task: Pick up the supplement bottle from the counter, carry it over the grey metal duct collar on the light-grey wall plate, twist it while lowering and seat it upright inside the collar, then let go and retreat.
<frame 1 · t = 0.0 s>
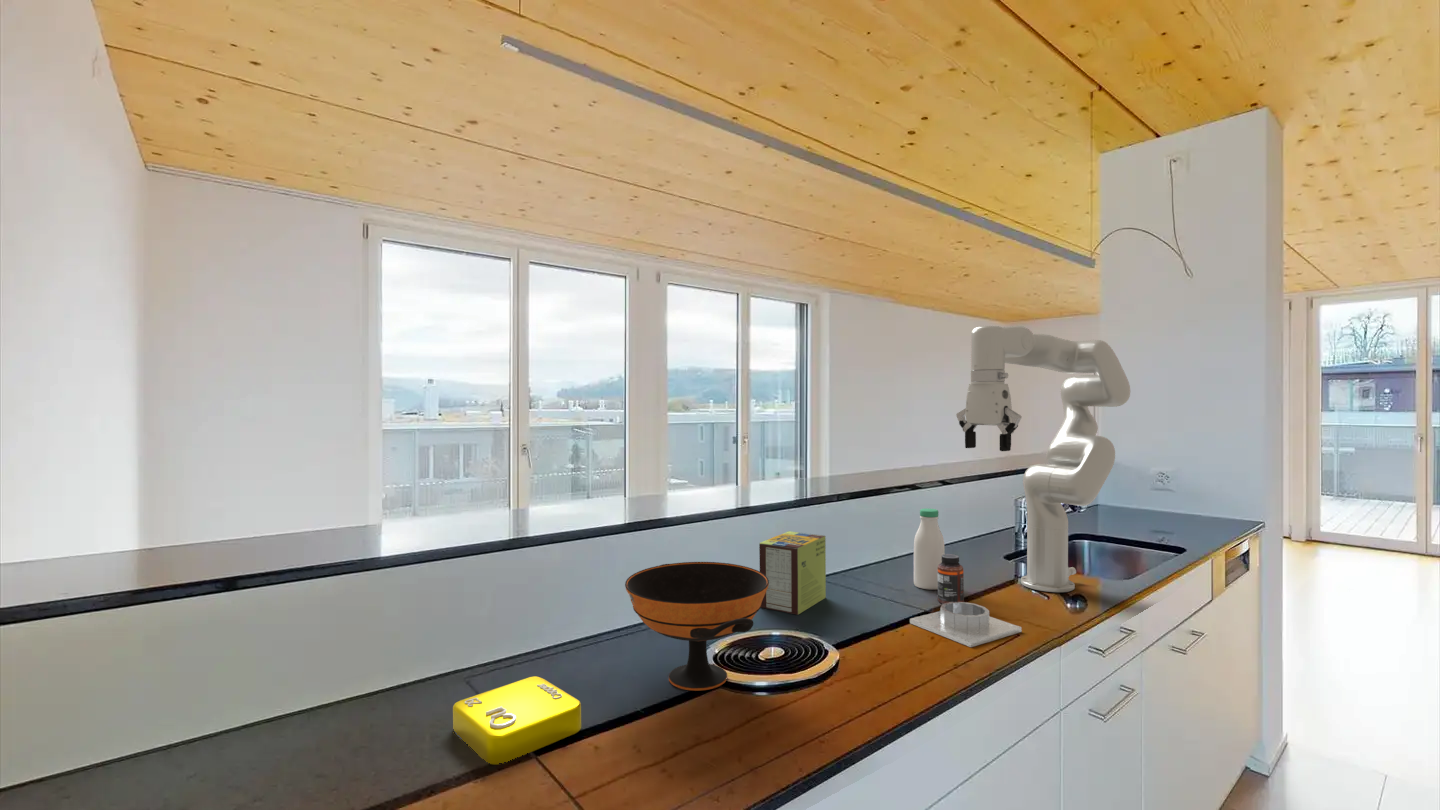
hand: (987, 449, 160), 37 cm above the worktop, tool pointing down, fingers open, 9 cm apart
milk bottle: (929, 586, 173), on the worktop
element tile: (517, 732, 101), on the worktop
duct flange: (964, 627, 143), on the worktop
protein box: (793, 603, 161), on the worktop
supplement bottle: (950, 603, 160), on the worktop
greek kylix: (698, 679, 119), on the worktop
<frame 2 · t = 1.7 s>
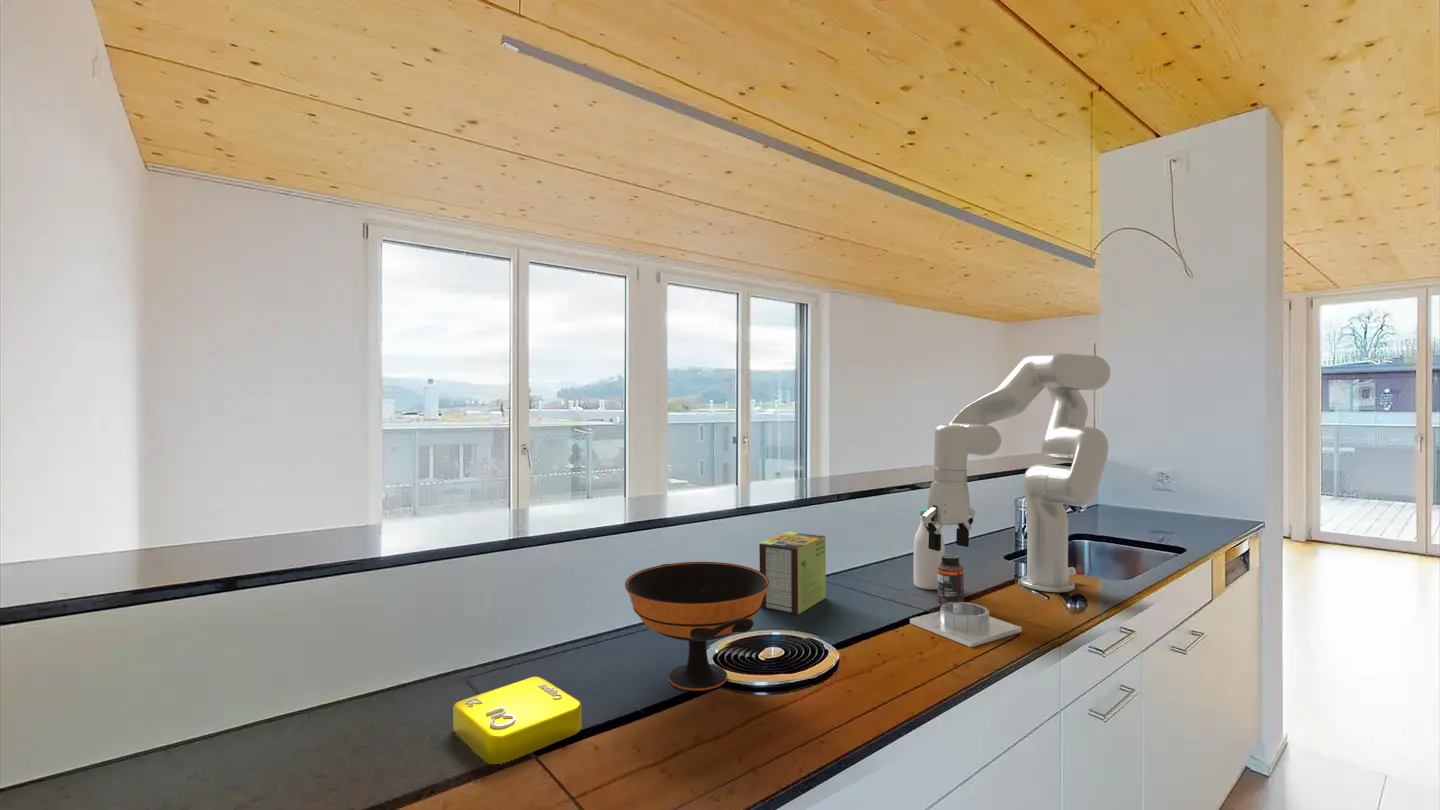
hand: (948, 547, 159), 13 cm above the worktop, tool pointing down, fingers open, 9 cm apart
nothing on the worktop moved.
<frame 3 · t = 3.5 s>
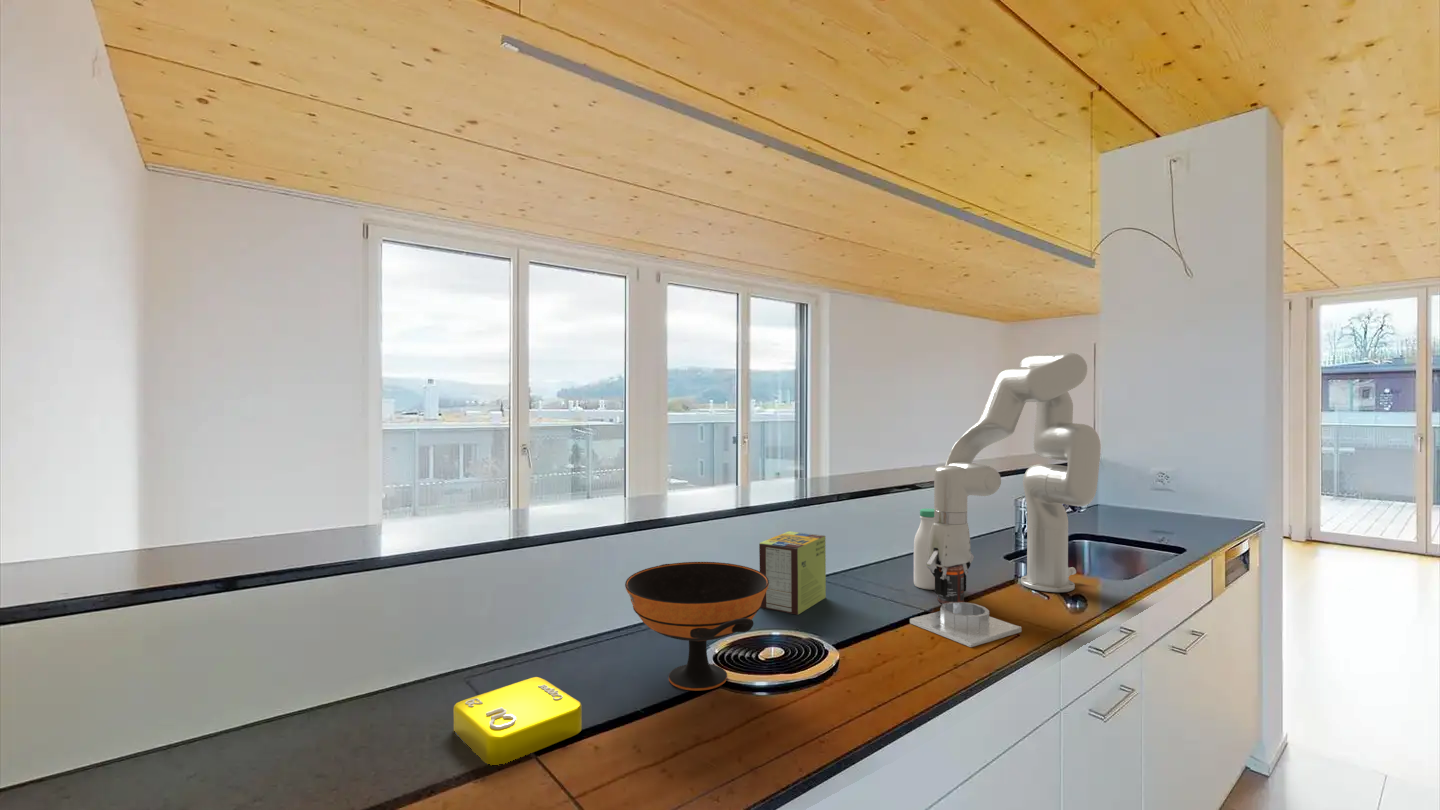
hand: (950, 591, 160), 3 cm above the worktop, tool pointing down, fingers closed on supplement bottle, 6 cm apart
supplement bottle: (950, 603, 160), on the worktop, touching gripper
everything else where it was.
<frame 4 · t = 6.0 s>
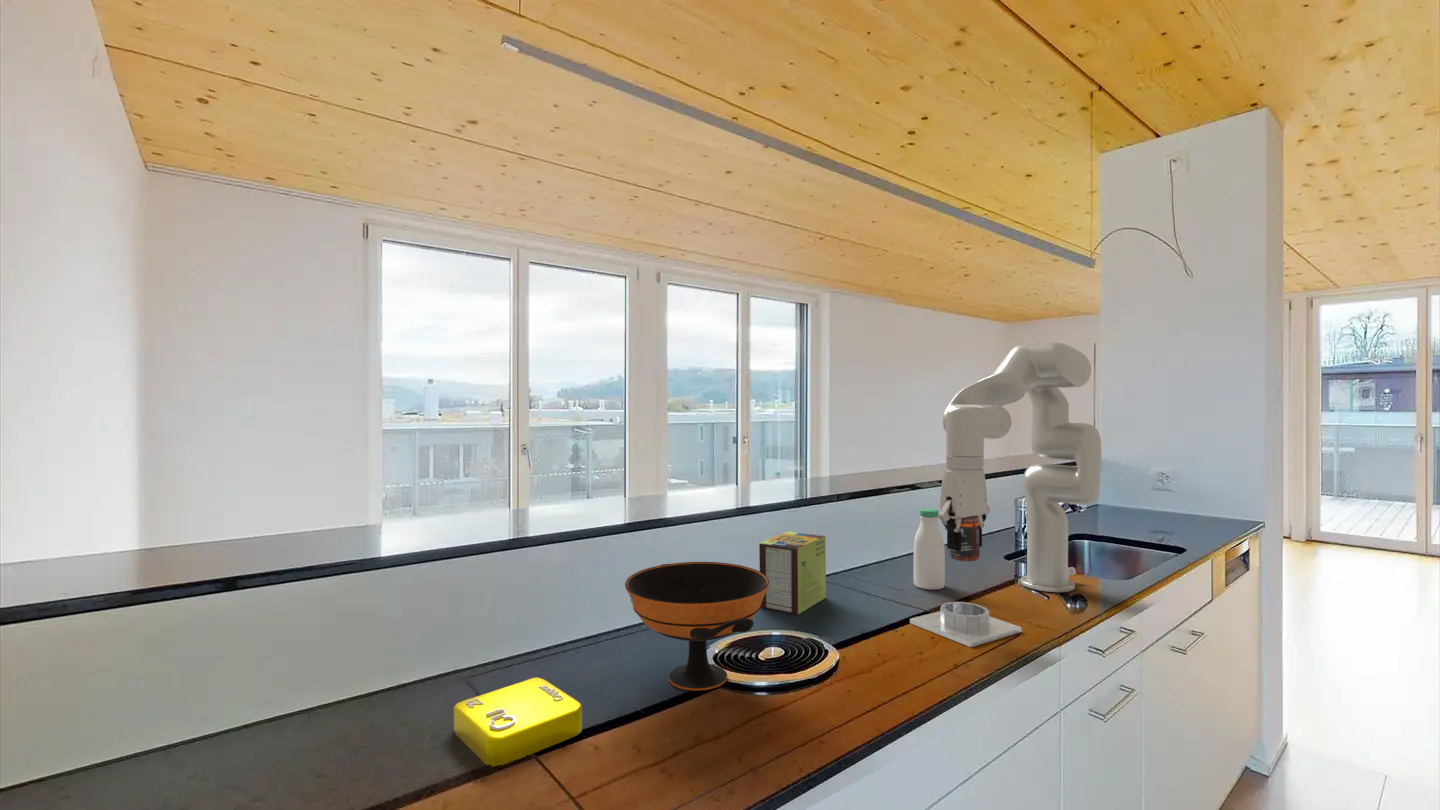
hand: (964, 546, 143), 17 cm above the worktop, tool pointing down, fingers closed on supplement bottle, 6 cm apart
supplement bottle: (964, 559, 143), point 15 cm above the worktop, touching gripper
everything else where it was.
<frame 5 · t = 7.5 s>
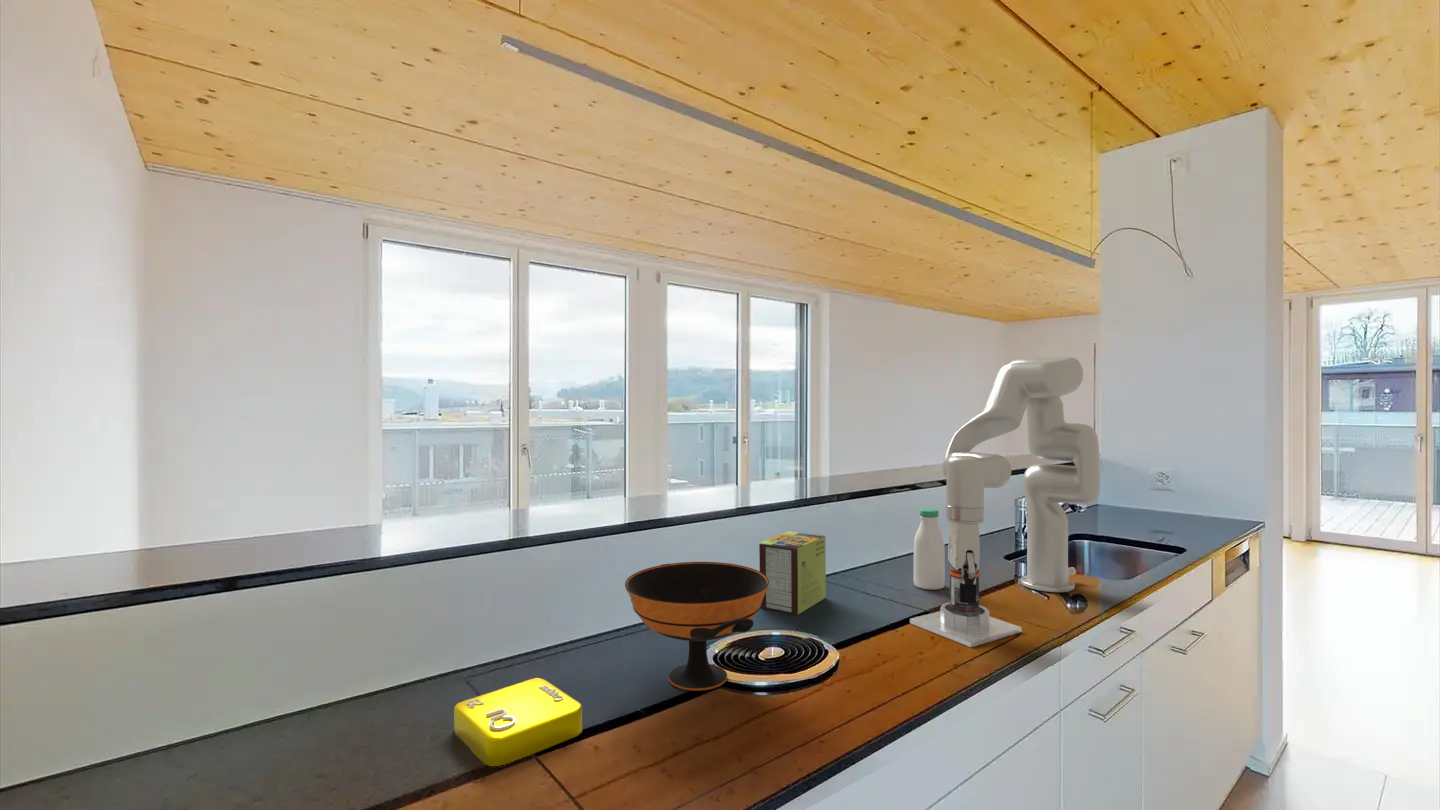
hand: (964, 596, 143), 7 cm above the worktop, tool pointing down, fingers closed on supplement bottle, 6 cm apart
supplement bottle: (964, 609, 143), point 4 cm above the worktop, touching gripper
everything else where it was.
when the fingers open (5 cm above the worktop, at t = 8.6 s): supplement bottle drops 2 cm, resting on duct flange.
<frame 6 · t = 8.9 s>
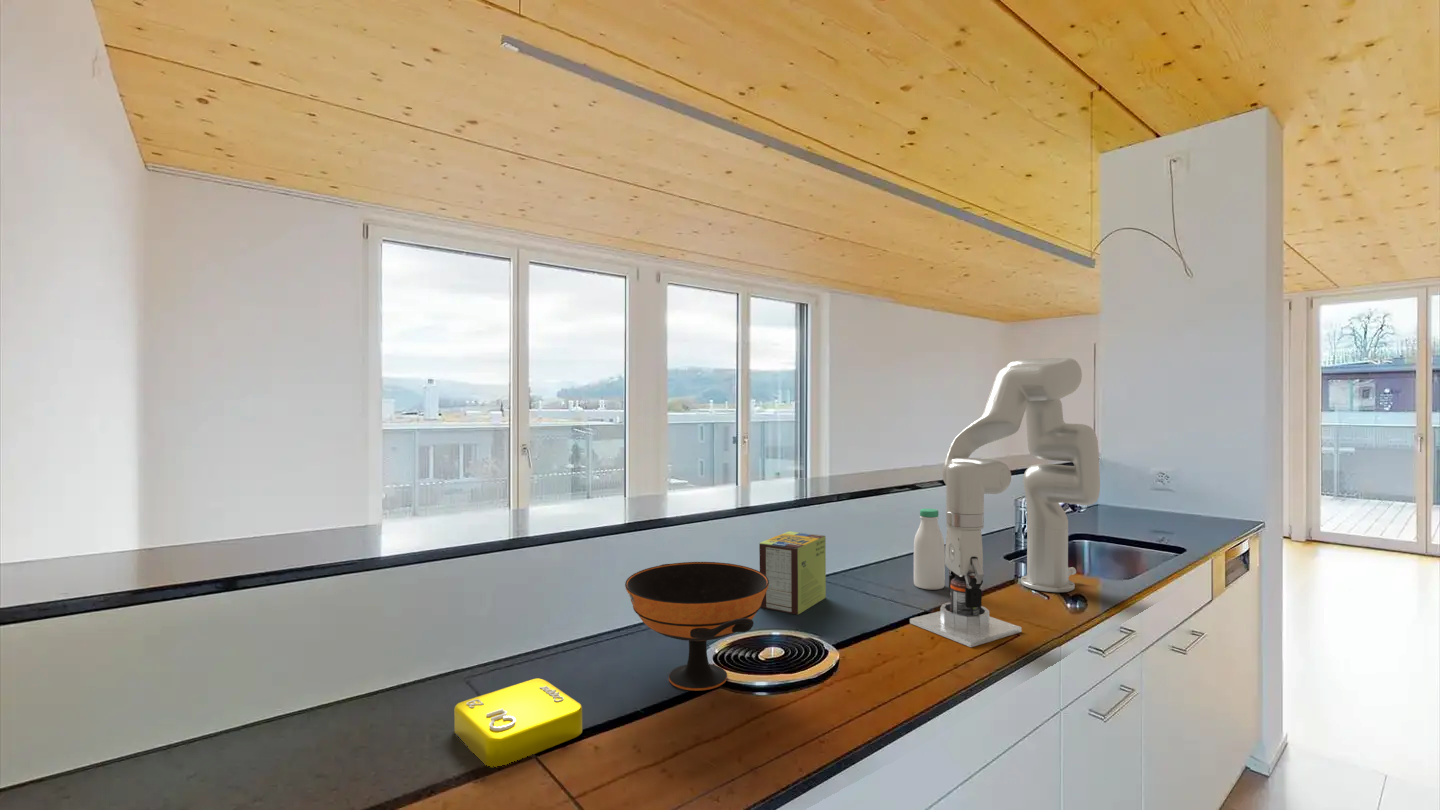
hand: (964, 599, 143), 6 cm above the worktop, tool pointing down, fingers open, 9 cm apart
supplement bottle: (964, 623, 143), point 1 cm above the worktop, touching duct flange
everything else where it was.
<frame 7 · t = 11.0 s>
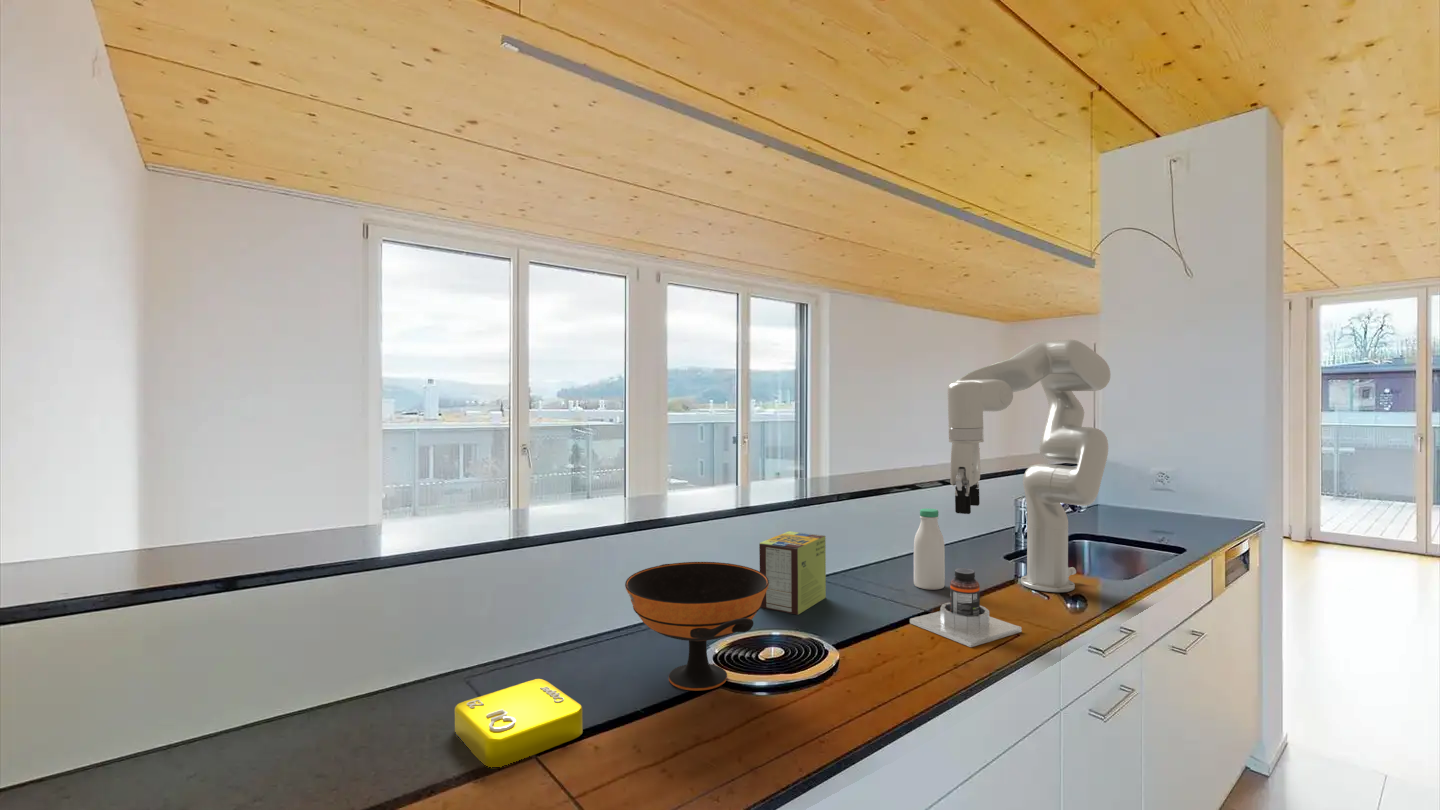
hand: (967, 509, 153), 24 cm above the worktop, tool pointing down, fingers open, 9 cm apart
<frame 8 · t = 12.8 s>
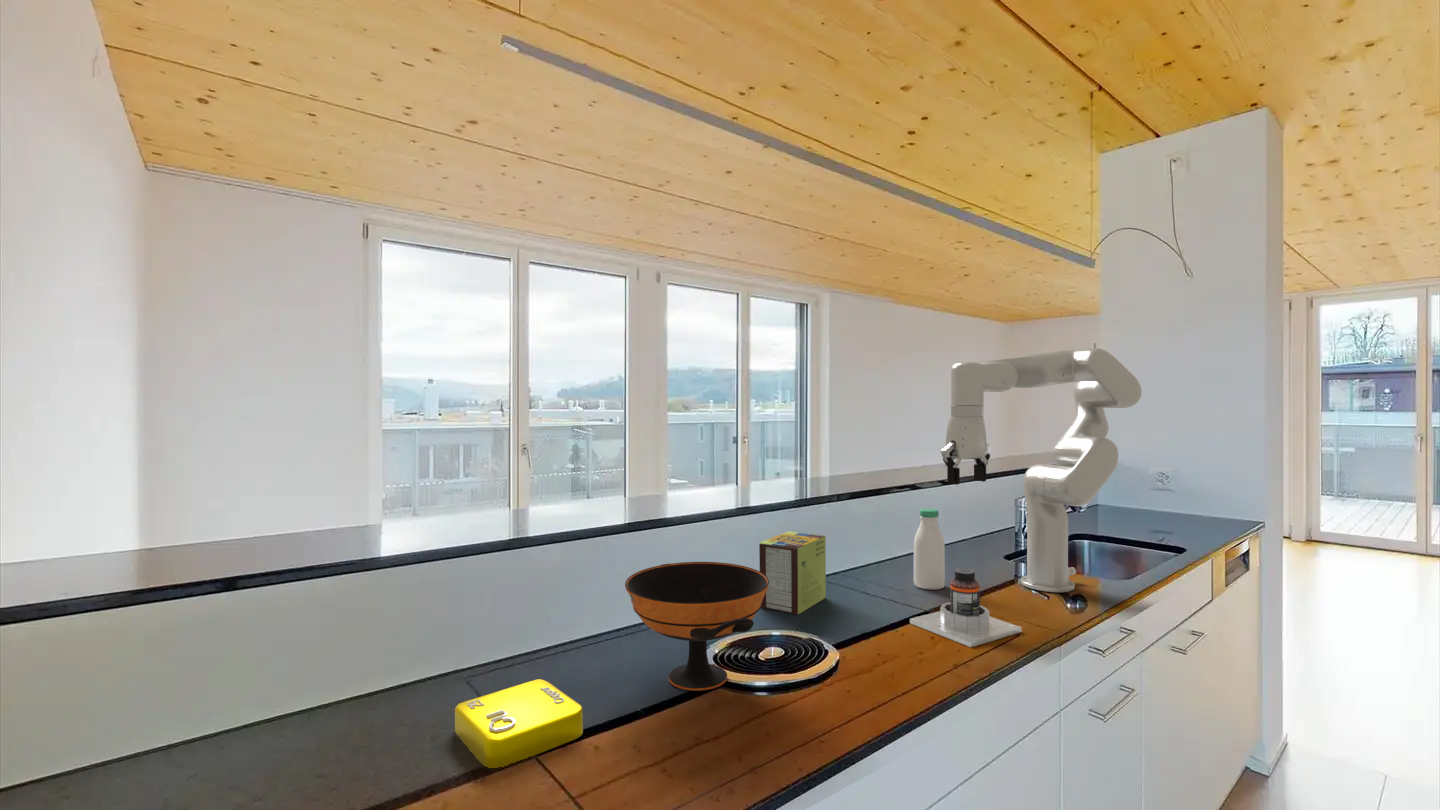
hand: (966, 482, 163), 28 cm above the worktop, tool pointing down, fingers open, 9 cm apart
at the end: supplement bottle 0.2 cm from the duct flange (horizontally); supplement bottle point 0.8 cm above the worktop; supplement bottle tilted 0° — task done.
